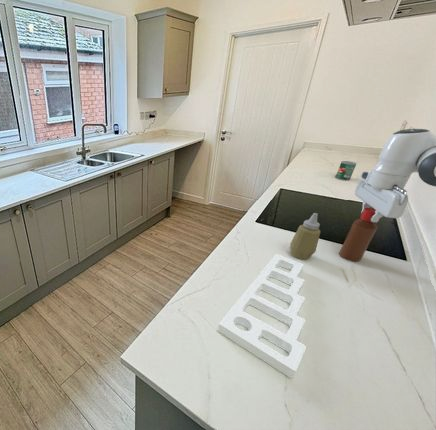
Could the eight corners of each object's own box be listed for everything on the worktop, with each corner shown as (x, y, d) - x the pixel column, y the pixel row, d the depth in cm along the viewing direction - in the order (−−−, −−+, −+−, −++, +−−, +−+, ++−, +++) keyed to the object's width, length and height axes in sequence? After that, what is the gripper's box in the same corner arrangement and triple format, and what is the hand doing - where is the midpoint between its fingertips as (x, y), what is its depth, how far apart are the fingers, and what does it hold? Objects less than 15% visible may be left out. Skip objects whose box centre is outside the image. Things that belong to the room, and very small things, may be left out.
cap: (373, 217, 93) (378, 209, 91) (377, 222, 89) (382, 213, 88) (358, 215, 94) (363, 206, 93) (362, 220, 91) (367, 211, 89)
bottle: (357, 254, 101) (380, 209, 92) (363, 263, 95) (387, 217, 87) (337, 250, 103) (357, 206, 94) (341, 259, 98) (363, 213, 89)
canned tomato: (332, 177, 180) (338, 161, 175) (340, 176, 182) (346, 160, 177) (344, 181, 173) (351, 164, 168) (352, 179, 175) (359, 163, 170)
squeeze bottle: (290, 259, 98) (306, 217, 90) (284, 247, 105) (299, 207, 97) (315, 263, 96) (334, 220, 88) (308, 251, 103) (324, 210, 94)
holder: (274, 259, 98) (276, 253, 97) (333, 283, 86) (336, 276, 85) (216, 330, 70) (218, 323, 69) (292, 379, 59) (295, 371, 58)
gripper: (422, 193, 76) (399, 233, 82) (380, 171, 93) (363, 206, 99) (396, 191, 77) (375, 231, 84) (359, 170, 95) (344, 205, 101)
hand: (368, 217), depth 92 cm, fingers closed on cap, 4 cm apart
